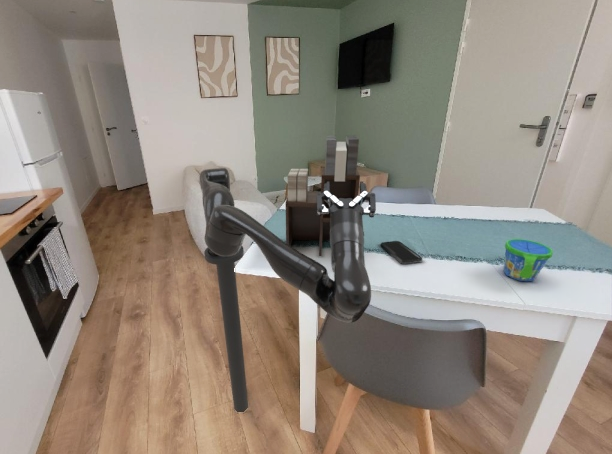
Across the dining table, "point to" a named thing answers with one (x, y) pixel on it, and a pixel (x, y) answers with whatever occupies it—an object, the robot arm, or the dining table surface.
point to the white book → (340, 161)
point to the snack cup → (525, 259)
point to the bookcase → (304, 203)
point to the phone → (401, 252)
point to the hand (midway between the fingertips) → (344, 183)
